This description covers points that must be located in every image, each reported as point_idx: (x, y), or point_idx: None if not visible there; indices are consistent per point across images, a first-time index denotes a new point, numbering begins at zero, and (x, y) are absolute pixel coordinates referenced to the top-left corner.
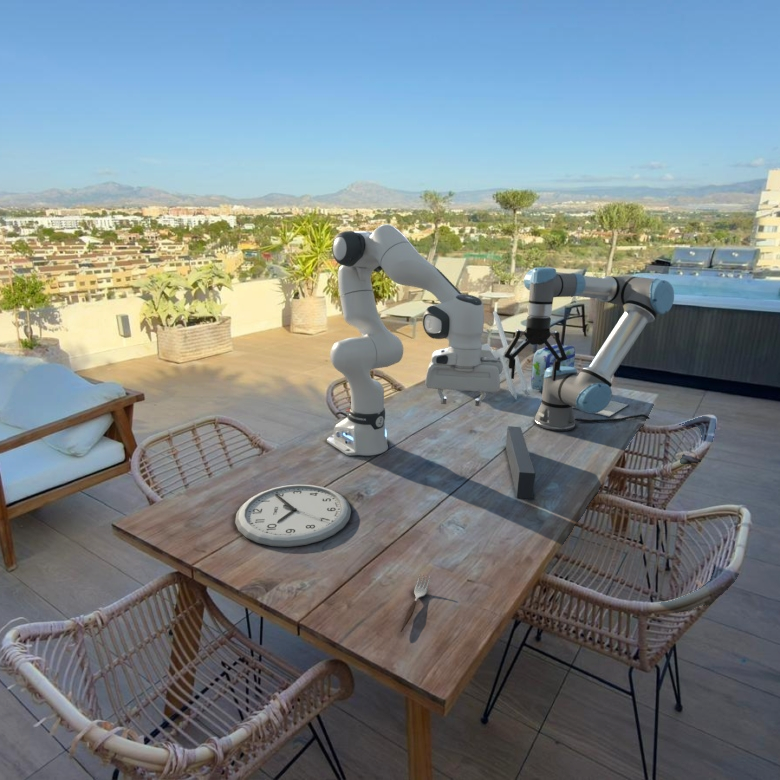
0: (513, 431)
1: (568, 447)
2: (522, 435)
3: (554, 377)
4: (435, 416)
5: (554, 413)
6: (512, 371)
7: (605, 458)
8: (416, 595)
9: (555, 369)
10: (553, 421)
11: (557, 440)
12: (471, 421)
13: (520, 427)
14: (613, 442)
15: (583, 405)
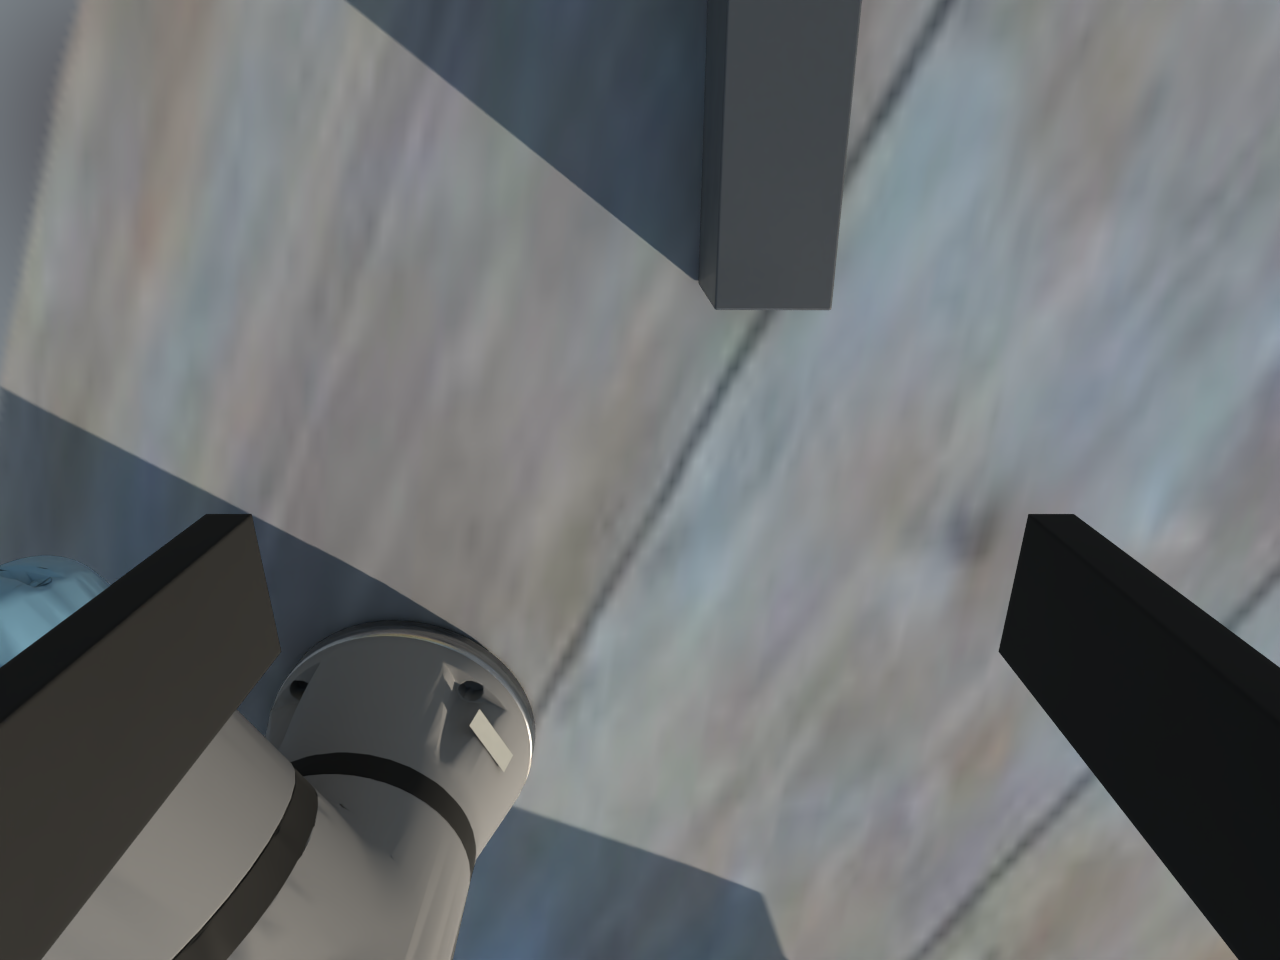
0: (802, 169)
1: (340, 357)
2: (732, 69)
3: (188, 547)
4: None
5: (392, 718)
6: (1172, 595)
7: (84, 193)
8: None
9: (48, 658)
10: (412, 667)
11: (408, 469)
12: (945, 696)
13: (717, 292)
14: (37, 493)
15: (63, 569)
